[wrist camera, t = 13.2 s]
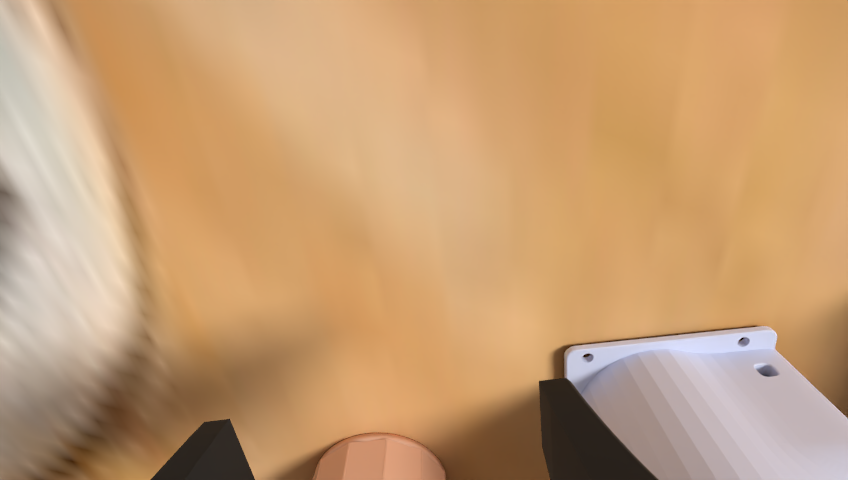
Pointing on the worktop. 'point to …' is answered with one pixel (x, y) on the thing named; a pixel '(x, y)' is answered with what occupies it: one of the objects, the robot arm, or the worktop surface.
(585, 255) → the worktop surface
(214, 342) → the worktop surface
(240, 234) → the worktop surface
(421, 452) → the pen cup
